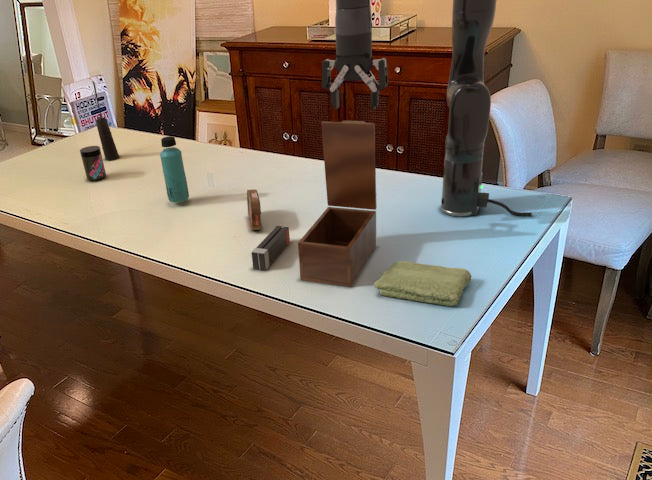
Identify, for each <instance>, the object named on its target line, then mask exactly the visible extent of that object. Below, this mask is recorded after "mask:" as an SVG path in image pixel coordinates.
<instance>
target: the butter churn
mask: <svg viewBox="0 0 652 480" xmlns="http://www.w3.org/2000/svg"><path fill="white" fill-rule="evenodd" d="M92 84H93V89H94V94H95V99H96V103H97V109H98V113H99V116H97V117H96V120H95V123H96V128H97V132H98V137H99V140H100V144H101V149H102V151H103V155H104V160H105V161H108V162H109V161H114V160H118V159H119V158H120V155H119V152H118V149H117V147H116V143H115V140H114V137H113V134H112V131H111V128H110V125H109V122H108V120H107V118H106V117H103V116H102V113H101V108H100V103H99V98H98V97H99V96H98V93H97V87H96V83H95V81H92Z"/></svg>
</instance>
